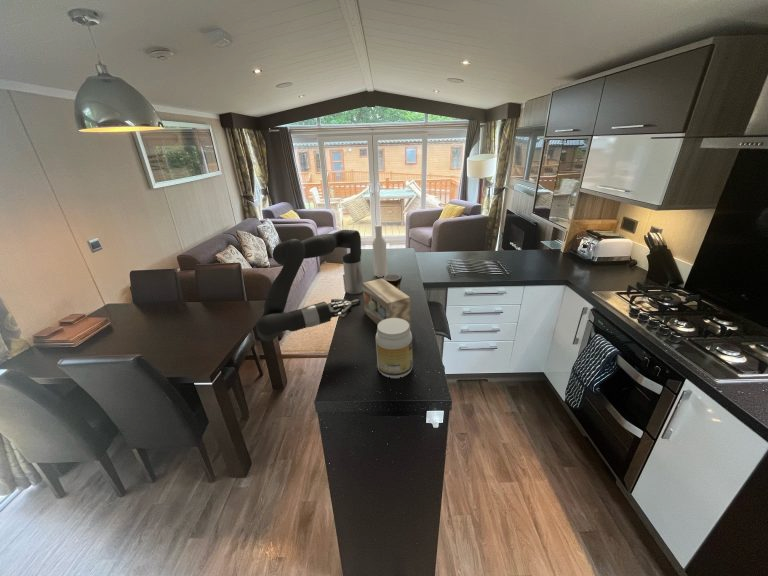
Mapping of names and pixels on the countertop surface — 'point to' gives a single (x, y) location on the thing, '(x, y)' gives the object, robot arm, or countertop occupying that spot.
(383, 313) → the button slate
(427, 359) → the countertop surface
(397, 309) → the box
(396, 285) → the coffee mug
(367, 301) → the button terracotta
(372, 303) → the button sage
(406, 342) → the supplement tub
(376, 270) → the bottle
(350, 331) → the countertop surface
